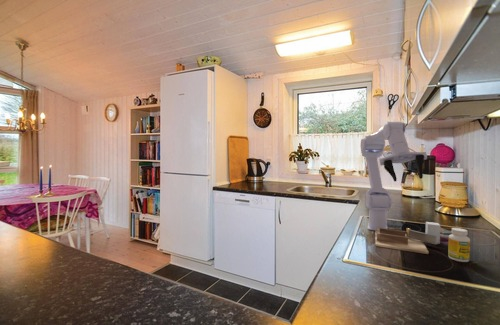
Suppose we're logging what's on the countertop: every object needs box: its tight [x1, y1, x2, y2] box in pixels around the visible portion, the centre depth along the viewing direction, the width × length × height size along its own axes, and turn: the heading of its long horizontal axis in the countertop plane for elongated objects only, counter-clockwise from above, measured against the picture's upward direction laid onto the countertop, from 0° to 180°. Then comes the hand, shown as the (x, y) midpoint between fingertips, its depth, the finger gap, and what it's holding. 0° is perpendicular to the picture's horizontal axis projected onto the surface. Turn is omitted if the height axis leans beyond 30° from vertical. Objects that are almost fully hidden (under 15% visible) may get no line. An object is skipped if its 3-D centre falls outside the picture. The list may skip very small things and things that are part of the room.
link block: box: [424, 221, 441, 245], centre depth 98 cm, size 4×4×7 cm
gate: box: [405, 227, 438, 246], centre depth 95 cm, size 10×1×3 cm, turn 34°
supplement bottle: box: [447, 227, 471, 263], centre depth 81 cm, size 5×5×10 cm
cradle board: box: [374, 228, 429, 255], centre depth 96 cm, size 18×16×3 cm
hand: (408, 178), depth 85 cm, fingers open, 7 cm apart
